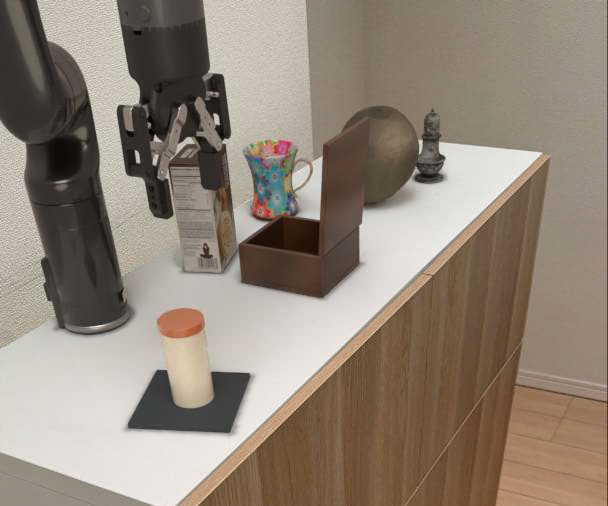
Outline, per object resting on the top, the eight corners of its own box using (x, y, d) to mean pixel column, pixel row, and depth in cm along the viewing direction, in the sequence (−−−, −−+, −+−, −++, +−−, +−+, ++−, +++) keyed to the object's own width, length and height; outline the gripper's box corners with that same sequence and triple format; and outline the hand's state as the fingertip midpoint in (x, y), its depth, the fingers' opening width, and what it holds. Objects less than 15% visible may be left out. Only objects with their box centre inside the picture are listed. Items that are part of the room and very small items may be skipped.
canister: (166, 408, 90) (151, 329, 84) (178, 384, 94) (164, 307, 87) (209, 409, 90) (197, 330, 83) (219, 385, 94) (208, 308, 87)
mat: (128, 428, 89) (127, 423, 89) (157, 373, 98) (156, 369, 97) (229, 432, 87) (229, 428, 87) (250, 376, 96) (249, 372, 95)
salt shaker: (408, 175, 146) (410, 105, 138) (436, 171, 147) (441, 101, 139) (420, 185, 142) (424, 113, 134) (449, 180, 143) (455, 109, 135)
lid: (322, 143, 96) (328, 145, 96) (365, 116, 104) (370, 117, 104) (318, 255, 106) (323, 256, 106) (357, 222, 114) (362, 223, 114)
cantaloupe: (340, 219, 132) (339, 123, 122) (332, 190, 142) (330, 100, 132) (422, 212, 132) (428, 116, 122) (408, 185, 143) (412, 94, 133)
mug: (240, 221, 134) (234, 155, 126) (259, 201, 140) (254, 138, 133) (306, 226, 131) (303, 159, 123) (322, 206, 137) (320, 141, 130)
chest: (241, 282, 116) (237, 244, 112) (282, 250, 124) (280, 213, 120) (322, 298, 111) (320, 258, 107) (359, 264, 119) (359, 226, 115)
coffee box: (201, 248, 126) (186, 142, 115) (238, 249, 125) (227, 142, 114) (183, 272, 119) (166, 162, 108) (223, 274, 118) (209, 162, 107)
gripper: (175, -1, 74) (198, 176, 85) (75, 27, 65) (115, 221, 76) (241, 2, 71) (256, 185, 82) (145, 32, 62) (176, 233, 73)
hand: (188, 202), depth 79 cm, fingers open, 8 cm apart
